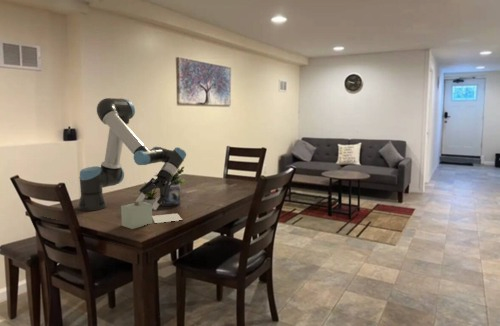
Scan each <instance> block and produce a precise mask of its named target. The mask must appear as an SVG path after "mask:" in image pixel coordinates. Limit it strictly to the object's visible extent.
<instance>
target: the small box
mask: <svg viewBox="0 0 500 326" xmlns="http://www.w3.org/2000/svg"><path fill="white" fill-rule="evenodd" d="M180 189H181V188H180V187H179V186H170V190H169V195H168V198H167V199H166V198H165V199H163V201H162V202H161V206H162V207H168V206H169V207H171V206H180V205H181V199H180V197H181V195H180V194H181V192H180Z"/></svg>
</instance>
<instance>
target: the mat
mask: <svg viewBox="0 0 500 326" xmlns="http://www.w3.org/2000/svg"><path fill="white" fill-rule="evenodd" d="M179 220H183V218H182V217H181V216H180V215H179V214H178V213H167V214H157V215H156V214H155V215H152V221H153V222H154V224H155V223H157V224H164V222H166V223H172V222H171V221H175V222H180V221H179Z"/></svg>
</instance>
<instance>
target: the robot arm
mask: <svg viewBox="0 0 500 326" xmlns="http://www.w3.org/2000/svg"><path fill="white" fill-rule="evenodd" d="M135 110H136V109H135V105H134V104H133V102H132V101H131V100H129V99H126V98H112V97H105V98H103V99H102V100H100V101H99V102H98V104H97V106H96V115H97V116H98V119H99V120H100V122H102V124H104V125H106V126H108V127H109V128H108V136H107V144H106V149H105V154H104V156H105V157H104V161H102V162H101V163H100V166H87V167H84V168H82V169H81V170H80V171H79V177H78V178H79V184H80V185H79V186H80V187H79V188H80V189H79V190H80V197H79V201H78V204H77V208H78V209H77V210H79V211H84V212H85V211H86V212H87V211H88V212H89V211H99V210H102V209H105V208H107V201H106V199H105V197H104V194H103V188H106V187H111V186H112V187H113V186H116V185H118V184H120V183H121V182H123V181H124V179H125V172H124V169H123V168H122V166H123V165H122V164H121V163H120V162H121V158H122V157H121V155H122V150H123V144H124V145H125V146H126V148H128V150H129V151H130V152H131V153H132V154H133V160H134V163H135V164H136V165H137V166H146V165H151V164H157V163H164V164H163V165H162V166H161V167H160V168H161V169H160V170H159V171H158V173H157V176H156V177H157V178H154V177H151V179H150V180H149V181H148V182H146V185H145V184H144V185H143V186H141V187H140V189H139V190H138V192H139V194H140V195H139V194H138V195H139V196H137V198H136V200H135V201H134V202H141V201H142V202H143V201H144V198H146V197H145V194H147V193H148V192H150V191H151V190H152V191H154V189H156V190H157V189H159V194H158V195H159V196H157V197H156V201H155V202H154V204H153V206H152V208H153V209H154V211H156V210H157V209H158V208H159V206H160V205H162V201H163V199H165V198H166V199H167V198H168V195H169V190H170V187H172V182H171V181H172V179H173V177H174V176H175V174H176V172H177V171H178V170H179V168H180V167H181V165H182V163H183V162H184V161H185V159H186V156H187V153H186V151H185V150H184V149H183V148H181V147H178V146H177V147H174V149H173V150H170V149H167V148H163V147H160V146H154V147H152V148H151V149H149V148H148V147H147V146H146V145H145V144H144V142H142V140H141V139H140V138H139V137H138V136H137V135H136V134H135V132H133V130H132V129H131V128H130V127H129V126H128V125H129V123H130V120H131V119H133V117H134V116H135V114H136V111H135ZM140 192H141V193H140Z"/></svg>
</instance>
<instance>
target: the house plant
mask: <svg viewBox="0 0 500 326" xmlns="http://www.w3.org/2000/svg"><path fill="white" fill-rule="evenodd" d="M146 184H147V182H145V181H144V185H146ZM139 188H142V185H141V184H140V185H139ZM157 191H159V190H157V188H156V189H153V190H151V191H150V192H148V193H147V194H145V197H144V199H143V202H146V203H150V204H152V206H153V204H154V202H155V201H156V199H157V197H156V196H157V195H158V192H157ZM140 193H141V192H140V191H139V194H138V196H139V195H140ZM138 196H137V197H138ZM153 210H154V209H153V208H152V211H153ZM154 211H155V210H154Z"/></svg>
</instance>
